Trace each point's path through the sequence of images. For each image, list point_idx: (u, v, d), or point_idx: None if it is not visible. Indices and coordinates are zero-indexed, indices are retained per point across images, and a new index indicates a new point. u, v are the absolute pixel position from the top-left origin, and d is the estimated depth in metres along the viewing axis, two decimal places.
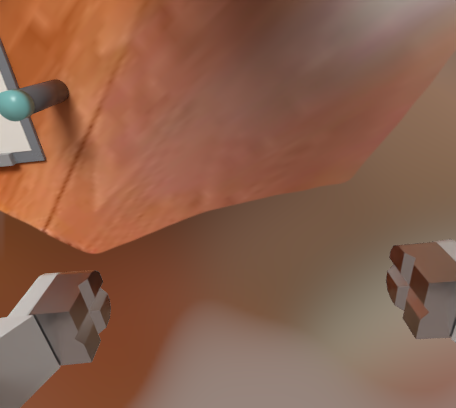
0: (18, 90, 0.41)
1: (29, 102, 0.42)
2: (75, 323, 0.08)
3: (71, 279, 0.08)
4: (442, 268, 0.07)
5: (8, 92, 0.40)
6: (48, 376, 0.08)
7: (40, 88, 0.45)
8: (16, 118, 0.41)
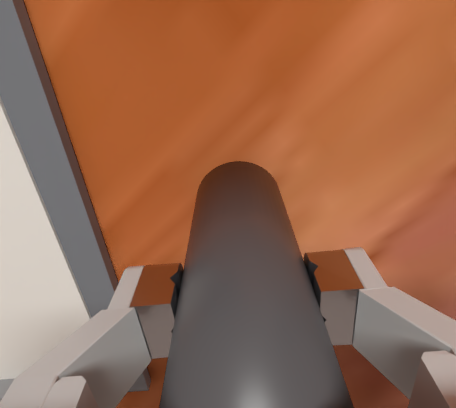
0: None
1: None
2: (173, 315, 0.07)
3: (160, 272, 0.08)
4: (338, 276, 0.07)
5: None
6: (142, 369, 0.08)
7: (302, 296, 0.07)
8: None
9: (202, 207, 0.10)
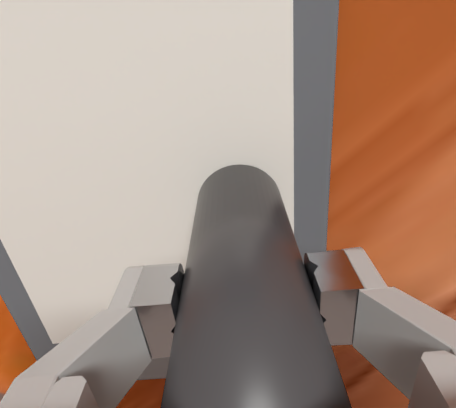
0: None
1: None
2: (174, 315, 0.07)
3: (160, 272, 0.08)
4: (338, 276, 0.07)
5: None
6: (142, 369, 0.08)
7: (303, 301, 0.07)
8: None
9: (203, 210, 0.10)
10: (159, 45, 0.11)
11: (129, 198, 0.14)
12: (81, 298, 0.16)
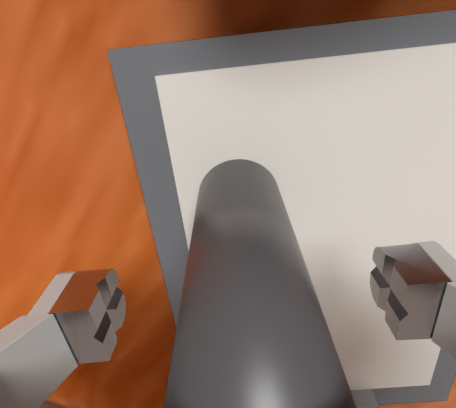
0: None
1: None
2: (94, 322, 0.08)
3: (88, 278, 0.08)
4: (421, 269, 0.07)
5: None
6: (66, 375, 0.08)
7: (300, 281, 0.07)
8: None
9: (204, 202, 0.11)
10: (379, 186, 0.14)
11: (320, 292, 0.16)
12: None
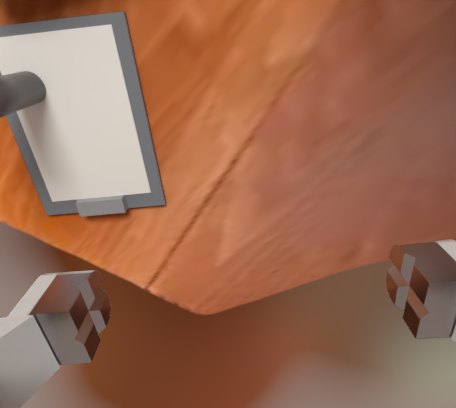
0: None
1: None
2: (75, 323, 0.08)
3: (71, 279, 0.08)
4: (442, 268, 0.07)
5: None
6: (48, 376, 0.08)
7: None
8: None
9: None
10: (84, 83, 0.36)
11: (78, 135, 0.38)
12: (63, 178, 0.41)
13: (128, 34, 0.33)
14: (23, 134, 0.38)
